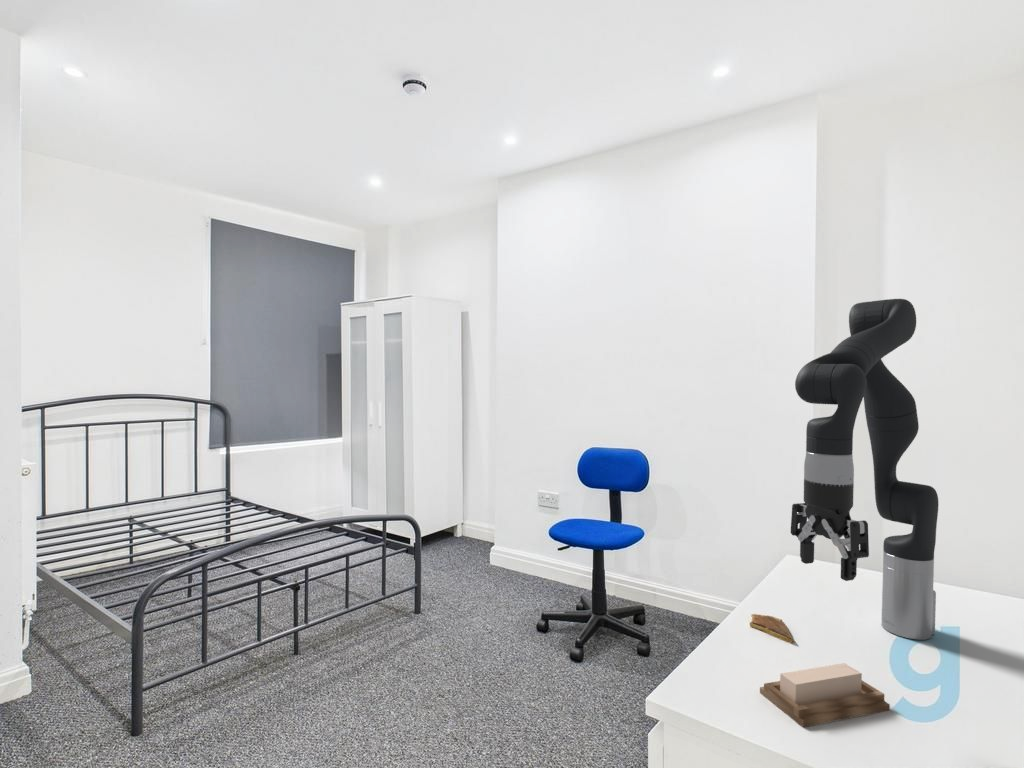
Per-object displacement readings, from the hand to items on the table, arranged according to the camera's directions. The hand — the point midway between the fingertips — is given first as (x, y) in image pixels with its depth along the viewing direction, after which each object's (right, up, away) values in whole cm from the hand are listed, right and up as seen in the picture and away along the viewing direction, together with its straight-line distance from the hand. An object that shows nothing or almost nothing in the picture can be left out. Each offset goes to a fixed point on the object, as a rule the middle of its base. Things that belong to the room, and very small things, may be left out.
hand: (826, 570), depth 97 cm
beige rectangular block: (-1, -22, 0) cm, 22 cm away
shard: (+4, -23, +28) cm, 36 cm away
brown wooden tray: (0, -23, 0) cm, 23 cm away
